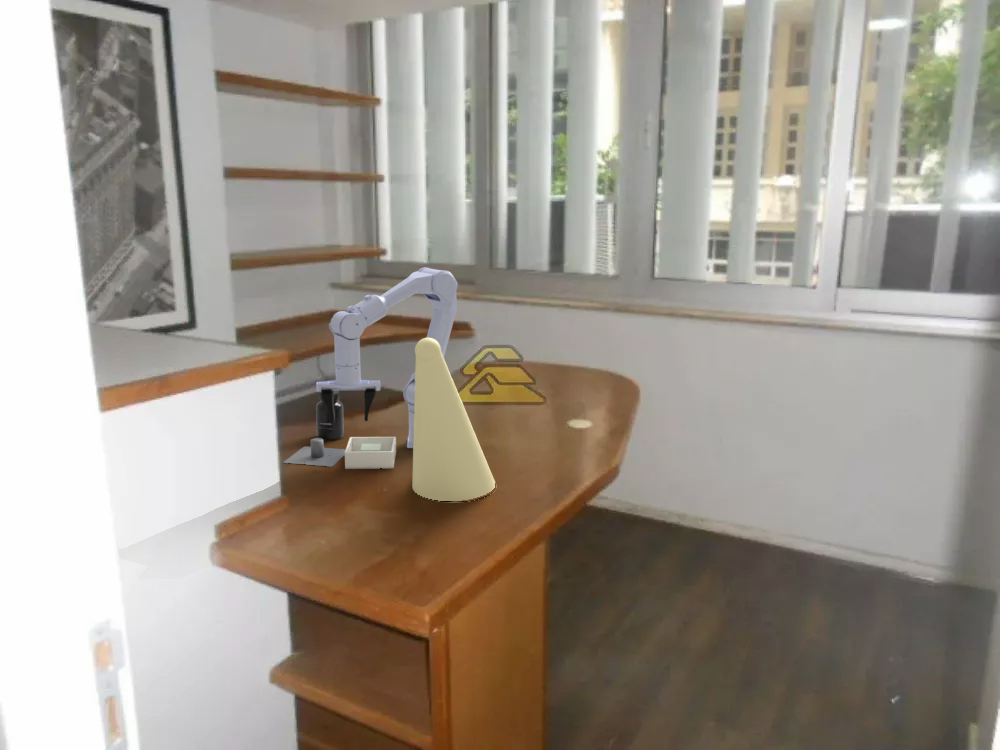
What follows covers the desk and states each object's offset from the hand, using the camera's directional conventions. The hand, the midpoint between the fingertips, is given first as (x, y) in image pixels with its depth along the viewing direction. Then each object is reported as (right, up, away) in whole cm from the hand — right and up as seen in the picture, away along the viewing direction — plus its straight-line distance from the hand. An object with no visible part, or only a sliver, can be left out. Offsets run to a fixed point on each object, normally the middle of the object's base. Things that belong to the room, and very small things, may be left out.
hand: (349, 420), depth 177 cm
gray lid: (-8, -10, +4) cm, 13 cm away
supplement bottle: (-9, -6, +18) cm, 21 cm away
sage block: (+5, -9, +2) cm, 11 cm away
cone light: (+24, -14, -15) cm, 32 cm away
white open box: (+5, -10, +2) cm, 11 cm away
